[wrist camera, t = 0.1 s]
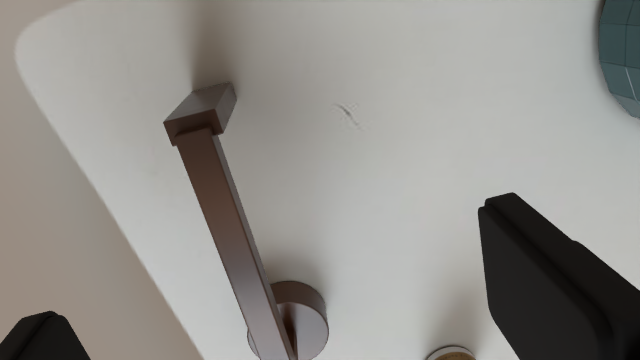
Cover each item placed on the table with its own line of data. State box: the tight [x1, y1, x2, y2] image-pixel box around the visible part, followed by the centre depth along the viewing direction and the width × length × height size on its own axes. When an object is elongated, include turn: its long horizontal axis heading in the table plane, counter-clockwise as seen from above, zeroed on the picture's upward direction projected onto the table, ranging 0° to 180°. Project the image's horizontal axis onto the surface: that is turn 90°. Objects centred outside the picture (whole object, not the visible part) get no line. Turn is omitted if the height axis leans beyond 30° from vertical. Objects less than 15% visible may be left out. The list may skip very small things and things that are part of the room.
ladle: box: [163, 82, 329, 360], centre depth 26 cm, size 20×6×8 cm, turn 14°
